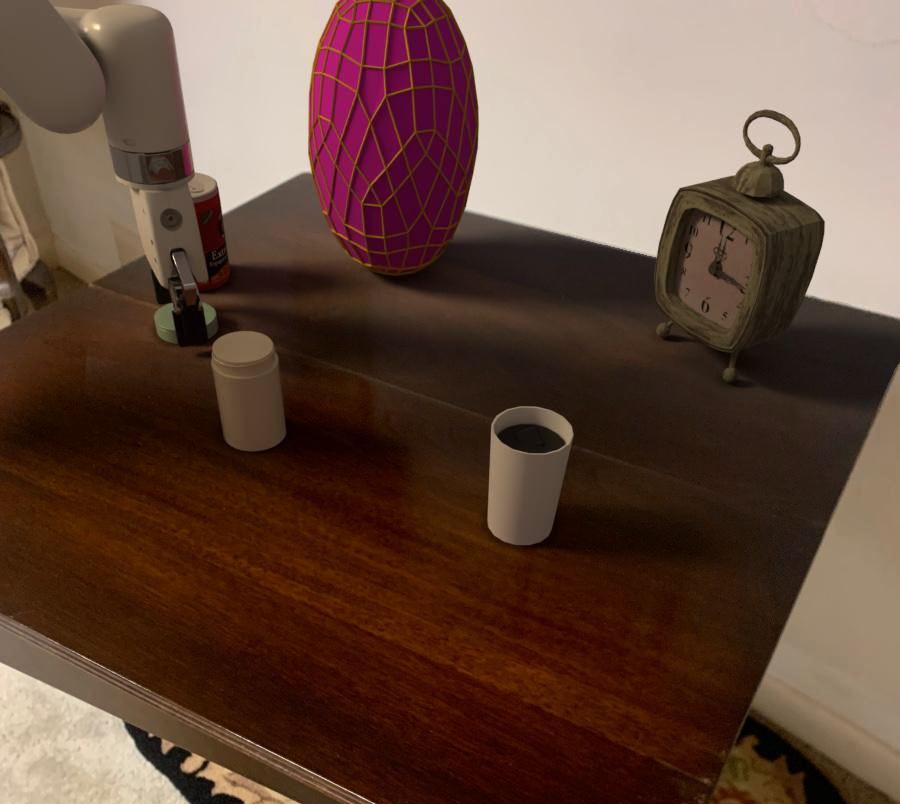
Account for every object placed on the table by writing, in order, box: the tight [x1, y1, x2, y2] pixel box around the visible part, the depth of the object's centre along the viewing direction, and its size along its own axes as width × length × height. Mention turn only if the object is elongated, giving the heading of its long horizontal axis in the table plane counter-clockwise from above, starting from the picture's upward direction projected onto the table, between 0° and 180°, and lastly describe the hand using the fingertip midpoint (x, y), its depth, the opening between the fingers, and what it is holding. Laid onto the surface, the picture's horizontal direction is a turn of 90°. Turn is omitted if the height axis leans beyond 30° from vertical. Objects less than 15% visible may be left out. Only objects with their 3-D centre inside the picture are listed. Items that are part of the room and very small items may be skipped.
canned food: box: [188, 171, 231, 292], centre depth 103 cm, size 8×8×11 cm
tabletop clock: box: [652, 109, 826, 384], centre depth 91 cm, size 14×9×25 cm, turn 32°
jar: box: [210, 330, 287, 452], centre depth 82 cm, size 6×6×9 cm
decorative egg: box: [307, 0, 480, 277], centre depth 100 cm, size 19×19×30 cm
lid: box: [153, 301, 219, 345], centre depth 98 cm, size 7×7×2 cm
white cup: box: [486, 405, 574, 546], centre depth 75 cm, size 7×7×10 cm
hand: (182, 322), depth 98 cm, fingers open, 9 cm apart
